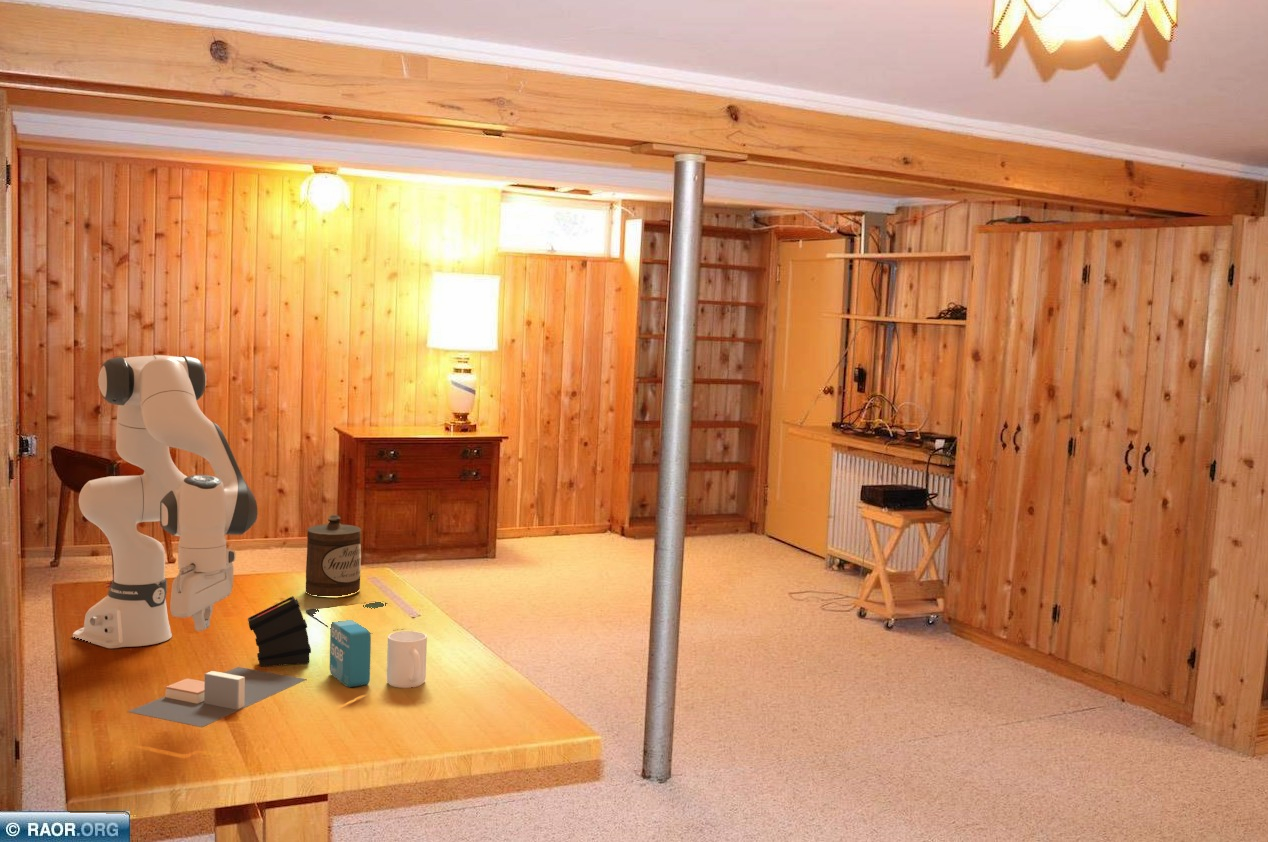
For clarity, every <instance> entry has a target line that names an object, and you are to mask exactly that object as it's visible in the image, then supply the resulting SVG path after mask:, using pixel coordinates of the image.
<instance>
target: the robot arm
mask: <svg viewBox="0 0 1268 842" xmlns="http://www.w3.org/2000/svg"><path fill="white" fill-rule="evenodd" d="M97 378H98V379H97V380H98V382H97V383H98V387H99V391H100V393H101V397H102V398H103V399H104V400H105V401H106V402H107V403H109V404H111V405H114V406H117V412H116V413H117V414H116V415H117V416H116V431H115V433H116V436H115V450H116V452H117V454H118V456H119V457H120V458H121V459H122V460H124V461H125V462H127V463H129V464H131V465H133V466H136V467H138V468H140V469H141V470H143V474H139V475H117V476H115V475H114V476H113V475H112V476H111V475H110V476H106V477H100V478H95V479H91V480H88V481H87V482H86V483H85V484H84V485H83V487H82V488H81V490H80V492H79V496H78V506H79V511H80V512H81V514H82V515H83V517H84V518H85V519H86V520H87V521H89V522H90V523H91V524H93V525H95V526H96V527H98V529H100V530H101V531H102V533H103V534H104V535H105V537H106V539H107V541H108V542H109V545H110V547H111V553H112V561H113V579H112V581H109V582H104V585H105V586H104V587H103V588H104V589H108V588H109V589H108V591H107V594H106V596H105V597H103V598H101V599H100V601H98V602H97V603H95V604H94V605H93V606H91V607H90V608H88V610H87V611H86V613H85V615H84V616H85V617H84V620H83V621H84V623H83V627H81V628H79V629H77V630H75V631H74V632H73V633H72V638H74V637H75V638H74V639H77V638H79V639H78V640H80V639H82V640H81V641H83V640H85V641H84V642H86V641H88V642H87V643H90V642H91V643H90V644H92V645H93V644H94V645H97V646H98V647H99V646H100V647H103V648H106V649H119V648H126V647H127V648H128V647H142V646H143V647H144V646H150V645H156V644H159V643H163V642H166V641H168V640H170V639H172V637H173V634H172V630H171V625H170V622H169V616H168V608H167V600H166V597H167V592H168V590H167V589H168V579H167V578H166V577H165V575H166V571H165V569H166V567H165V565H166V555H165V554H166V551H165V547H164V545H163V544H162V543H161V542H160V541H159V540H157V539H155V537H151V536H149V535H146V534H143V533H142V532H139V530H138V529H137V528H138V527H137V525H138V524H140V523H143V522H144V523H146V522H147V523H151V522H160V523H159V524H160V527H161V529H163V530H164V531H165V532H167V533H168V534H169V535H171V536H175V537H179V541H178V544H177V545H178V546H177V551H178V552H177V555H178V557H177V559H178V560H177V561H178V563H177V566H178V567H177V569H178V571H179V572H178V574H177V575H176V576H175V577H174V579H173V581H172V584H171V593H170V594H171V595H170V607H169V609H170V614H171V615H172V617H174V618H190V617H191V618H192V619H193V623H194V630H195V631H196V632H203V631H204V630H206V629H208V628H209V627H210V626H211V616H212V614H213V610H214V604H216V603H218V602H221V601H222V600H223V599H226V598H227V597H230V596H231V593H232V592H233V591H232V590H233V586H234V563H233V562H235V561H236V551H235V550H232V549H231V548H228V547H227V539H226V535H231V536H232V535H234V536H235V535H238V536H239V535H241V536H242V535H243V534H245V533H246V532H247V531H248V530H249V529H251V527H252V526H253V525H254V524H256V521H257V519H258V505H257V501H256V500H257V499H256V497H255V495H254V493H253V492H252V490H251V489H250V487H249V485H248V484H247V482H246V481H245V479H244V476H243V474H242V471H241V469H240V467H239V465H238V463H237V460H236V458H235V456H234V454H233V452H232V449H231V447H230V445H229V442H228V440H227V438H226V436H225V435H224V432H223V430H222V429H221V427H220V426H219V424H217V423H215V422H214V421H212V420H210V418H208V417H207V416H206V415H205V413H203V411H202V410H201V408H200V406H199V404H198V401H199V400H200V399H201V398H202V397H203V396H204V394H205V389H206V385H207V374H206V371H205V367H204V365H203V363H202V362H201V361H200V360H199V358H197V357H192V356H188V355H187V356H186V355H182V357H181V356H175V355H163V354H153V355H139V356H129V357H123V356H117V357H113V358H108V359H106V361H105V362H104V363H103V364H102V365H101V369H100V370H99V374H98V377H97ZM170 448H174V449H178V450H182V451H186V452H190V453H192V454H195V455H197V456H199V457H202V458H203V459H205V460H206V461H207V462H208V463H209V465H210V466H211V469H212V471H213V474H214V476H213V475H208V474H195V475H190V476H187V475H186V474H184V473H183V472H182V471H181V470H179V468H178V467H177V466H176V464H175V463H174V461H173V459H172V456H171V453H170Z"/></svg>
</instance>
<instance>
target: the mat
mask: <svg viewBox="0 0 1268 842" xmlns="http://www.w3.org/2000/svg"><path fill="white" fill-rule="evenodd" d="M223 673H226V674H232V675H237V676H242V677H245V705H244V707H242V708H240V709H237V710H236V709H231V708H226V707H221V706H216V705H211V704H206V703H204V701H203V702H200V703H198V704H197V703H192V702H187V701H182V700H177V699H172V698H167V697H166V695H164V696H162V697H159V698H157V699H155V700H153V701H150V702H148V703H145V704H143V705H140V706H138V707H135V708H133V709H129V710H128V711H127V713H131V714H136V715H142V716H146V717H150V718H155V719H161V720H165V721H170V722H175V723H180V724H184V725H190V726H193V727H199V728H203V727H205V726H208V725H210V724H212V723H215V722H217V721H219V720H221V719H223V718H225V717H228V716H230V715H232V714H234V713H236V712H238V711H241V710H243V709H245V708H247V707H250V706H252V705H254V704H256V703H258V702H260V701H262V700H265V699H267V698H269V697H271V696H275V695H276V694H278V693H280V692H283V691H284V690H288V689H289V688H292V687H293V686H296V685H299V684H300V683H303V682H304V681H307V678H302V677H298V676H297V677H296V676H291V675H285V674H280V673H276V672H275V673H274V672H270V671H269V672H268V671H265V670H264V671H262V670H258V669H252V668H246V667H242V666H237V667H234V668H233V669H230V670H227V671H225V672H223ZM203 681H204V682H205V679H204V680H203Z"/></svg>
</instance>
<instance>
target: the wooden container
mask: <svg viewBox="0 0 1268 842" xmlns="http://www.w3.org/2000/svg"><path fill="white" fill-rule="evenodd" d="M327 520H328V523H327V524H326V523H325V524H317V525H314V526H313V525H311V526H309V527H308V528H307V535H306V536H307V537H306V538H307V540H306V541H307V543H306V544H307V545H306V547H307V548H306V562H305V563H306V564H305V565H306V566H305V593H306V592H307V593H309V594H311V595H317V596H342V595H348V594H351V593H355V592H357V591H358V590H359V589H360V590H361V563H362V562H361V560H362V559H361V555H362V554H361V549H362V548H361V547H362V545H361V541H362V540H361V539H362V536H361V535H362V529H361V528H360V527H359V526H357V525H356V526H355V525H351V524H341V516H339V515H338V514H331V515H330V516H329V517H328V518H327ZM307 593H306V594H307Z"/></svg>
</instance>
